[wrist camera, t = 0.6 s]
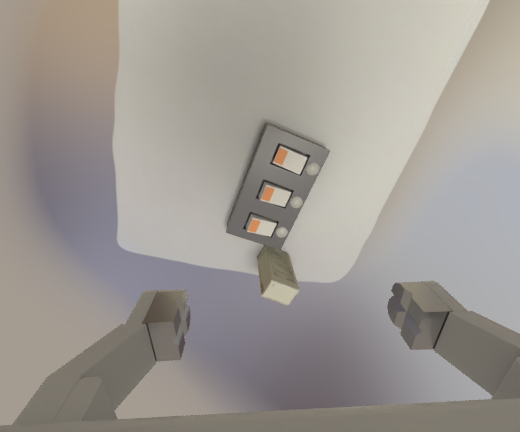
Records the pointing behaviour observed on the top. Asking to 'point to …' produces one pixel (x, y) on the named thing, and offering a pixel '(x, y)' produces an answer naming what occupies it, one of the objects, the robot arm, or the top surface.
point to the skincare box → (277, 276)
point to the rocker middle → (274, 194)
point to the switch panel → (277, 175)
